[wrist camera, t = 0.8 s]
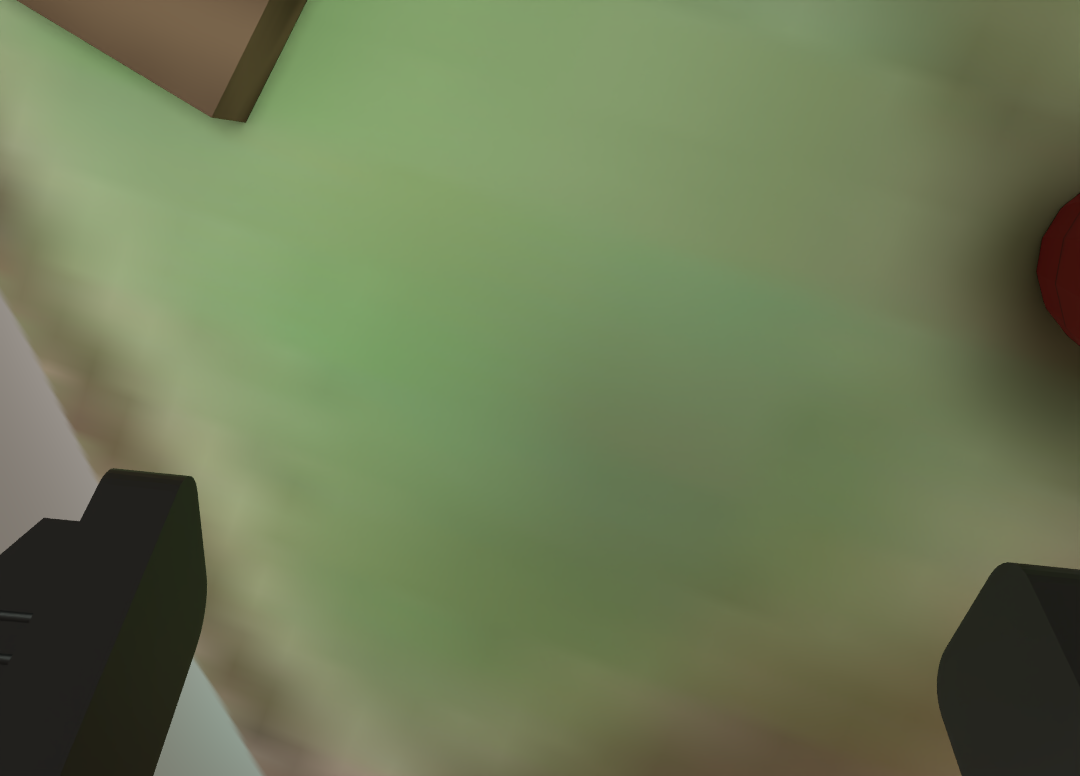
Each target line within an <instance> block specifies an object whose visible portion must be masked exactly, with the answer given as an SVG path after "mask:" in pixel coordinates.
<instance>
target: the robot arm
mask: <svg viewBox="0 0 1080 776" xmlns="http://www.w3.org/2000/svg"><path fill="white" fill-rule="evenodd" d="M206 596H207V576H206V567H205V557H204V548H203V539H202V530H201V520H200V511H199V502H198V492H197V486H196V483H195V480H194V478H193V477H191V476H183V475H173V474H163V473H154V472H144V471H134V470H124V469H114V468H113V469H110V470H109V471H108V472H106V474H105V475H104V476H103V477H102V479H101V481H100V483H99V484H98V486H97V488H96V491H95V493H94V494H93V496H92V498H91V500H90V502H89V504H88V506H87V508H86V510H85V512H84V514H83V516H82V518H81V520H80V521H69V520H60V519H50V518H43V519H42V520H41V521H40V522H38V523H37V524H36V525H35V526H34V527H32V528H31V529H30V530H29V531H28V532H27V533H25V534H24V535H23V536H22V537H21V538H19V539H18V540H17V541H16V542H15V543H14V544H12V545H11V546H10V547H9V548H8V549H7V550H5V551H4V552H3V553H2V554H1V555H0V776H153V775H154V772H155V769H156V766H157V763H158V760H159V757H160V754H161V751H162V747H163V745H164V742H165V739H166V736H167V733H168V730H169V727H170V724H171V721H172V718H173V715H174V712H175V709H176V706H177V703H178V700H179V697H180V694H181V691H182V688H183V685H184V682H185V679H186V676H187V674H188V670H189V667H190V665H191V662H192V659H193V656H194V653H195V650H196V647H197V644H198V640H199V637H200V633H201V629H202V624H203V619H204V613H205V606H206ZM937 695H938V703H939V708H940V712H941V715H942V718H943V721H944V724H945V727H946V730H947V733H948V736H949V739H950V742H951V745H952V748H953V751H954V754H955V757H956V760H957V763H958V766H959V769H960V772H961V774H962V776H1080V570H1078V569H1068V568H1058V567H1049V566H1039V565H1029V564H1019V563H1009V562H1007V563H1003V564H1001V565H999V566H998V567H996V568H995V569H994V571H993V572H992V573H991V575H990V576H989V578H988V580H987V581H986V583H985V584H984V586H983V588H982V589H981V591H980V593H979V594H978V596H977V598H976V599H975V601H974V603H973V604H972V606H971V608H970V609H969V611H968V612H967V614H966V616H965V617H964V619H963V621H962V622H961V624H960V626H959V627H958V629H957V631H956V632H955V634H954V635H953V637H952V639H951V640H950V642H949V644H948V645H947V647H946V649H945V651H944V653H943V655H942V657H941V660H940V664H939V669H938V676H937Z"/></svg>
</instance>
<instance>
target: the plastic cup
mask: <svg viewBox="0 0 1080 776" xmlns="http://www.w3.org/2000/svg"><path fill="white" fill-rule="evenodd" d="M1036 272H1037V276H1038V280H1039V284H1040V289H1041V293H1042V297H1043V301H1044V304H1045V307H1046V309H1047V310H1048V311H1049V313H1050V314H1051V315H1052V317H1053V318H1054V319H1055V320H1056V322H1057V323H1058V324H1059V325H1060V327H1061V328H1062V329H1063V331H1064V332H1065V333H1066V334H1067V336H1069V337H1070V338H1071V339H1072V340H1073V341H1074V342H1076V343H1077V344H1078V345H1079V346H1080V194H1078V195H1077V196H1076V197H1074V198H1073V199H1072V200H1071V201H1069V202H1068V203H1067V204H1065V205H1064V207H1062V208H1061V209H1060V211H1059V212H1058V214H1057V216H1056V217H1055V219H1054V220H1053V222H1052V224H1051V225H1050V227H1049V228H1048V230H1047V232H1046V233H1045V235H1044V237H1043V238H1042V243H1041V249H1040V254H1039V260H1038V265H1037V271H1036Z"/></svg>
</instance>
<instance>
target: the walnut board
mask: <svg viewBox="0 0 1080 776" xmlns="http://www.w3.org/2000/svg"><path fill="white" fill-rule="evenodd" d="M17 1H19V2H21V3H22V4H24V5H26V6H27V7H29V8H31V9H32V10H34V11H36V12H37V13H39V14H40V15H42V16H44V17H45V18H47V19H49V20H50V21H52V22H54V23H55V24H57V25H59V26H60V27H62V28H64V29H65V30H67V31H69V32H70V33H72V34H74V35H75V36H77V37H79V38H80V39H82V40H84V41H85V42H87V43H89V44H90V45H92V46H94V47H95V48H97V49H99V50H100V51H102V52H104V53H105V54H107V55H109V56H110V57H112V58H114V59H115V60H117V61H119V62H120V63H122V64H124V65H125V66H127V67H128V68H130V69H132V70H133V71H135V72H137V73H138V74H140V75H142V76H143V77H145V78H147V79H148V80H150V81H152V82H153V83H155V84H157V85H158V86H160V87H162V88H163V89H165V90H167V91H168V92H170V93H172V94H173V95H175V96H177V97H178V98H180V99H182V100H183V101H185V102H187V103H188V104H190V105H192V106H193V107H195V108H197V109H198V110H200V111H202V112H203V113H205V114H207V115H208V116H210V117H212V118H219V119H226V120H233V121H239V122H246V121H247V119H248V117H249V115H250V113H251V111H252V109H253V107H254V105H255V103H256V101H257V99H258V97H259V95H260V93H261V91H262V89H263V87H264V85H265V83H266V81H267V79H268V77H269V75H270V73H271V71H272V69H273V67H274V65H275V63H276V61H277V59H278V57H279V55H280V53H281V51H282V49H283V47H284V45H285V43H286V41H287V39H288V37H289V35H290V33H291V31H292V29H293V27H294V25H295V23H296V21H297V19H298V17H299V15H300V13H301V11H302V9H303V7H304V5H305V3H306V1H307V0H17Z"/></svg>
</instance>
